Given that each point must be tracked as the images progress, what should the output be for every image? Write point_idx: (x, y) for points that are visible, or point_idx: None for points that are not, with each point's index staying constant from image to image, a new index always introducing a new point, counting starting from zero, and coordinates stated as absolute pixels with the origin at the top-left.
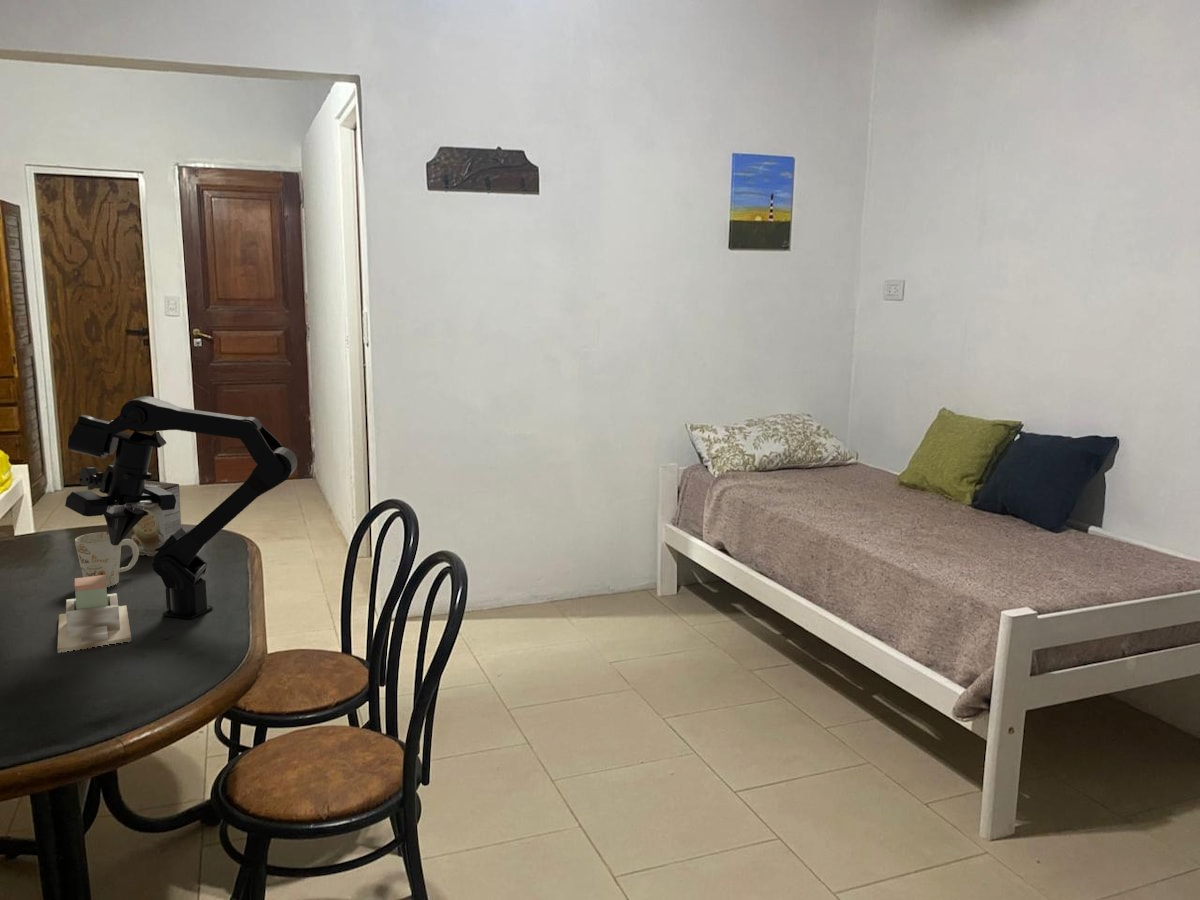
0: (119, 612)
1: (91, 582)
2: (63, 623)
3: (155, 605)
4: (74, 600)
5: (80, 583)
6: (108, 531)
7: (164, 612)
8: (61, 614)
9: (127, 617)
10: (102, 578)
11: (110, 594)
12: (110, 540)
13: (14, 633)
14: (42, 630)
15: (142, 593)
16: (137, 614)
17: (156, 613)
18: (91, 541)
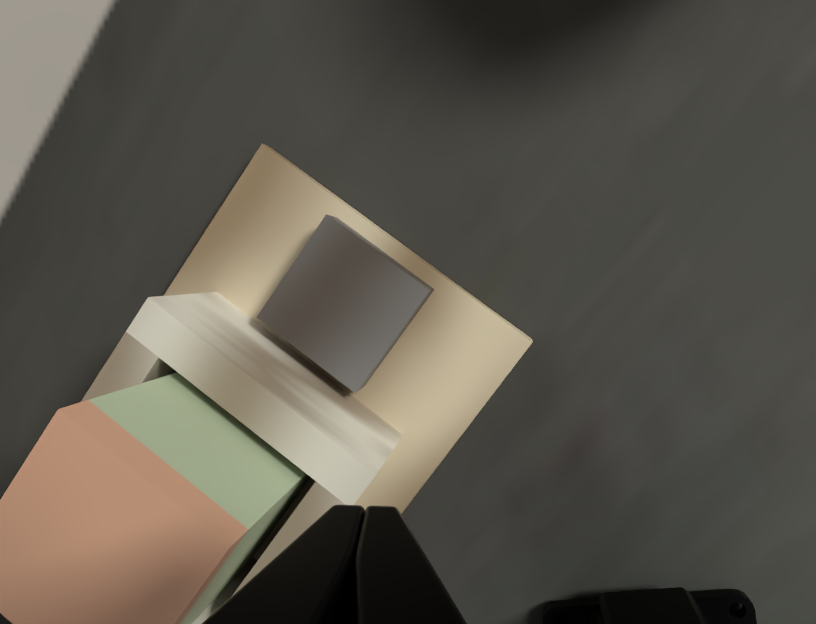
0: (431, 408)
1: (62, 608)
2: (192, 290)
3: (660, 428)
4: (161, 356)
5: (8, 556)
6: (225, 606)
7: (561, 614)
8: (266, 156)
9: (399, 511)
10: (158, 606)
11: (340, 458)
12: (313, 529)
13: (56, 151)
14: (137, 229)
15: (791, 173)
16: (504, 457)
17: (564, 537)
18: None
